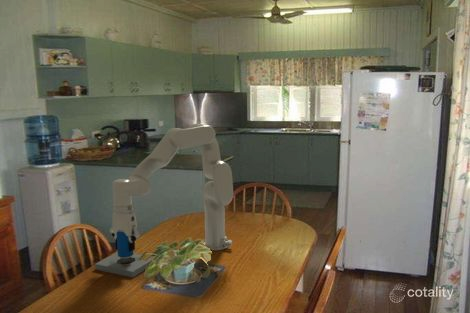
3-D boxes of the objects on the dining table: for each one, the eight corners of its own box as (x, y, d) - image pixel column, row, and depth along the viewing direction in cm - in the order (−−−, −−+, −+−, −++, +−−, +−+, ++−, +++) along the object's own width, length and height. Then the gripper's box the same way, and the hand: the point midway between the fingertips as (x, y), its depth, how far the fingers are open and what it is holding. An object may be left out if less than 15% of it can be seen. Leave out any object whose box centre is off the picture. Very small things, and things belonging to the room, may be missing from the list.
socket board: (156, 263, 184) (156, 257, 183) (132, 277, 170) (132, 271, 169) (120, 256, 192) (120, 250, 192) (95, 269, 178) (94, 263, 178)
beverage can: (129, 259, 176) (127, 232, 175) (115, 258, 178) (113, 231, 176) (136, 253, 183) (134, 227, 181) (122, 253, 184) (120, 226, 182)
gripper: (145, 208, 177) (147, 249, 179) (113, 204, 184) (115, 243, 187) (133, 213, 170) (136, 255, 173) (100, 208, 178) (103, 249, 180)
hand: (125, 249), depth 180 cm, fingers closed on beverage can, 6 cm apart
